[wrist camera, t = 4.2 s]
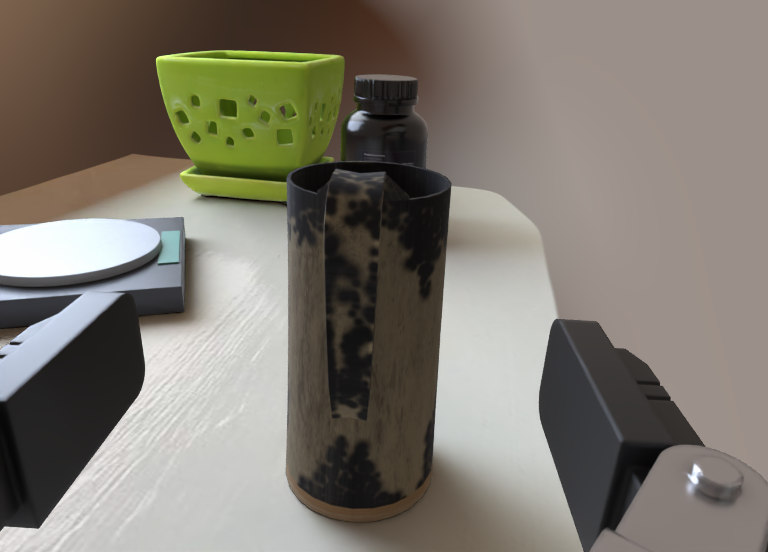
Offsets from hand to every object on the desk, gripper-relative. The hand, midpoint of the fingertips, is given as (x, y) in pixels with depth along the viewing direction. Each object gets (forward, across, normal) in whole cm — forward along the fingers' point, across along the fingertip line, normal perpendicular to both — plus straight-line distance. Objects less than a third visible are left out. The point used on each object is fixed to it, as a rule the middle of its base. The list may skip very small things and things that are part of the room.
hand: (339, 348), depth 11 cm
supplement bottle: (+36, +1, +10) cm, 37 cm away
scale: (+23, +19, +10) cm, 31 cm away
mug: (+6, 0, +10) cm, 12 cm away
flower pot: (+46, +13, +10) cm, 49 cm away
